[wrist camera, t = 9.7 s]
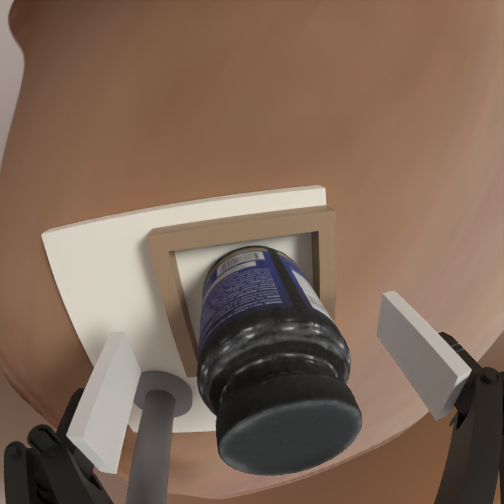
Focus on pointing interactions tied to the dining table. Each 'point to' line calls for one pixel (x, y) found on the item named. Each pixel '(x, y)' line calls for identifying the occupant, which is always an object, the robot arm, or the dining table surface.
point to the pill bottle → (272, 366)
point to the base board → (177, 296)
